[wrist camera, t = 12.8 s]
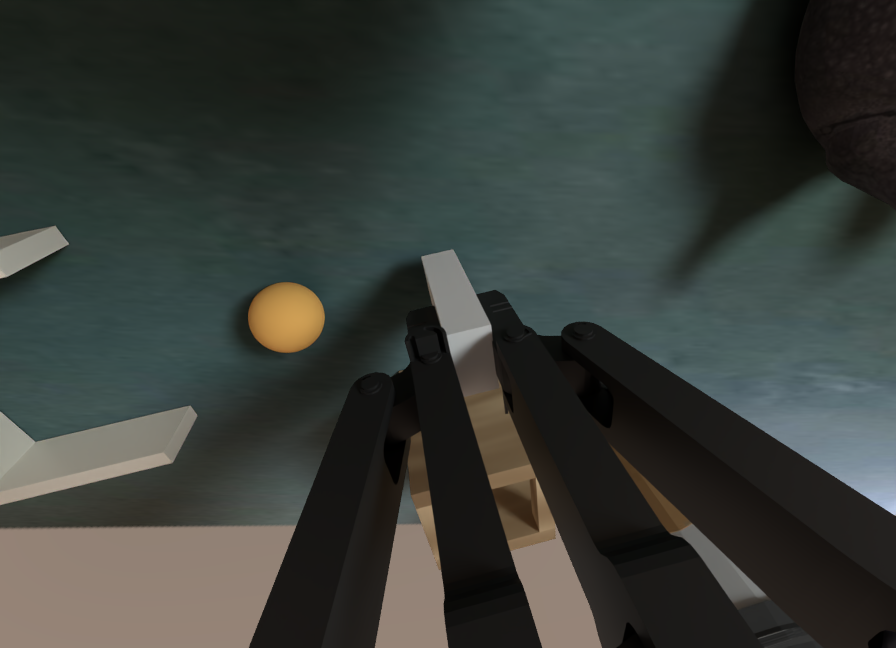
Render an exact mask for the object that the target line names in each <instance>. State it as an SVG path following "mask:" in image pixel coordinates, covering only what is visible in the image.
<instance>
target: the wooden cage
mask: <svg viewBox="0 0 896 648" xmlns="http://www.w3.org/2000/svg"><path fill="white" fill-rule="evenodd" d="M402 371H403V370H401V371H399V373H400V372H402ZM498 382H499V379H498ZM464 399H465V402H466V406H467V409H468V412H469V416H470V419H471V422H472V426H473V429H474V432H475V436H476V439H477V442H478V446H479V449H480V452H481V456H482V459H483V462H484V465H485V469H486V472H487V475H488V479H489V482H490V485H491V489H492V492H493V495H494V499H495V502H496V505H497V509H498V512H499V515H500V518H501V522H502V525H503V528H504V532H505V535H506V538H507V542H508V545H509V548H510V551H511V550H515V549H518V548H522V547H526V546H530V545H533V544H537V543H541V542H545V541H548V540H552V539H555V521H554V519H553V516H552V514H551V512H550V509H549V507H548V504H547V502H546V500H545V497H544V495H543V493H542V490H541V488H540V485H539V483H538V481H537V478H536V476H535V473H534V471H533V469H532V466H531V464H530V461H529V459H528V457H527V454H526V452H525V449H524V447H523V445H522V442H521V440H520V437H519V435H518V433H517V430H516V428H515V425H514V423H513V421H512V418H511V416H510V413H509V411H508V414H505V408H504V400H503V392H502V386H501V384H500V382H499V388H498V389H494V390H490V391H486V392H482V393H478V394H474V395H470V396H466V397H464ZM408 470H409V481H410V491H411V497H412V499H413V502H414V505H415V507H416V510H417V513H418V515H419V518H420V521H421V523H422V526H423V528H424V531H425V534H426V536H427V539H428V542H429V544H430V547H431V550H432V552H433V555H434V558H435V560H436V563H437V565H438V568H439V570H441V565H440V558H439V551H438V545H437V538H436V531H435V524H434V517H433V511H432V504H431V497H430V490H429V483H428V477H427V470H426V463H425V456H424V449H423V443H422V436H421V431H420V432H419V433H417V434H415V435H413V436H411V445H410V451H409V456H408Z"/></svg>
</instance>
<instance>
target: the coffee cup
mask: <svg viewBox="0 0 896 648" xmlns="http://www.w3.org/2000/svg"><path fill="white" fill-rule="evenodd" d="M610 446H611V445H610ZM611 447H612V446H611ZM612 449H613V451H614V452H615V454H616V455H617V457H618V458H619V460H620V461H621V463H622V464H623V466H624V467H625V469H626V470H627V472H628V473H629V475H630V476H631V478H632V479H633V481H634V482H635V484H636V485H637V487H638V488H639V490H640V491H641V493H642V494H643V496H644V498H645V499H646V501H647V502H648V504H649V505H650V507H651V508H652V510H653V511H654V513H655V514H656V516H657V517H658V519H659V520H660V522H661V523H662V525H663V526H664V527H665V529H666V530H667V531H668V532H669V533H670V534H672V535H674V536H678V537H682V538H683V539H685V540H686V541H687V542H688V543H690V544H691V545H692V547H693V548H694V549H695V550H696V552H697V553H698V554H699V555H700V557H701V558H702V559H703V561H704V562H705V564H706V565H707V567H708V568H709V569H710V571H711V572H712V574H713V575H714V577H715V578H716V579H717V581H718V582H719V584H720V585H721V587H722V588H723V590H724V591H725V592H726V594H727V595H728V597H729V598H730V600H731V601H732V602H733V604H734V605H735V607H736V608H737V610H738V611H739V613H740V614H741V615H742V617H743V618H744V620H745V621H746V623H747V624H748V625H749V627H750V628H751V630H752V631H753V633H754V634H755V636H756V637H757V638H758V640H759V641H760V643H761V644H762V646H763V647H764V648H823V647H822V646H821V645H820V644H818V643H817V642H816V641H815V640H814V639H813V638H812V637H811V636H810V635H809V634H807V633H806V632H805V631H804V630H803V629H802V628H801V627H800V626H799V625H797V624H796V623H795V622H794V621H793V620H792V619H791V618H790V617H789V616H788V615H787V614H785V613H784V612H783V611H782V610H781V609H780V608H779V607H778V606H777V605H776V604H775V603H774V602H773V601H772V600H771V599H770V598H769V597H768V596H767V595H766V594H765V593H764V592H763V591H762V590H761V589H760V588H759V587H757V586H756V585H755V584H754V583H753V582H752V581H751V580H750V579H749V578H748V577H747V576H746V575H745V574H744V573H743V572H742V571H741V570H740V569H739V568H738V567H737V566H736V565H735V564H734V563H733V562H732V561H731V560H729V559H728V558H727V557H726V556H725V555H724V554H723V553H722V552H721V551H720V550H719V549H718V548H717V547H716V546H715V545H714V544H713V543H712V542H711V541H710V540H709V539H708V538H707V537H706V536H705V535H704V534H703V533H701V532H700V531H699V530H698V529H697V528H696V527H695V526H694V525H693V524H692V523H691V522H690V521H689V520H688V519H687V518H686V517H685V516H684V515H683V514H682V513H681V512H680V511H679V510H678V509H677V508H676V507H675V506H673V505H672V504H671V503H670V502H669V501H668V500H667V499H666V498H665V497H664V496H663V495H662V494H661V493H660V492H659V491H658V490H657V489H656V488H655V487H654V486H653V485H652V484H651V483H650V482H649V481H648V480H647V479H645V478H644V477H643V476H642V475H641V474H640V473H639V472H638V471H637V470H636V469H635V468H634V467H633V466H632V465H631V464H630V463H629V462H628V461H627V460H626V459H625V458H624V457H623V456H622V455H621V454H620V453H619V452H617V451H616V450H615V449H614V448H613V447H612Z"/></svg>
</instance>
